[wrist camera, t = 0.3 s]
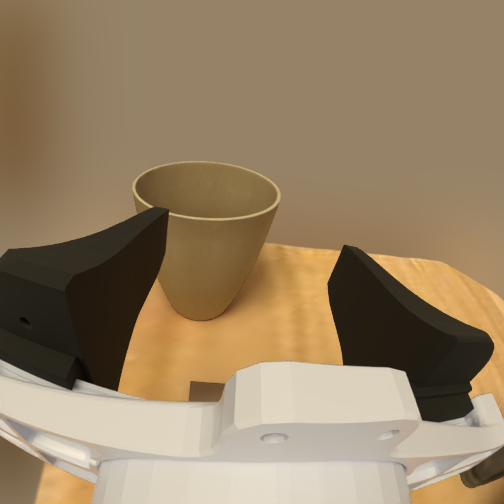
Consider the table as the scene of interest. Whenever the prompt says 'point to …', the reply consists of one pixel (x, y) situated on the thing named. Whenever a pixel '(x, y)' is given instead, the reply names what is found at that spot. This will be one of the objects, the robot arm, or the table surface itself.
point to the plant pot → (208, 230)
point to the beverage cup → (485, 470)
